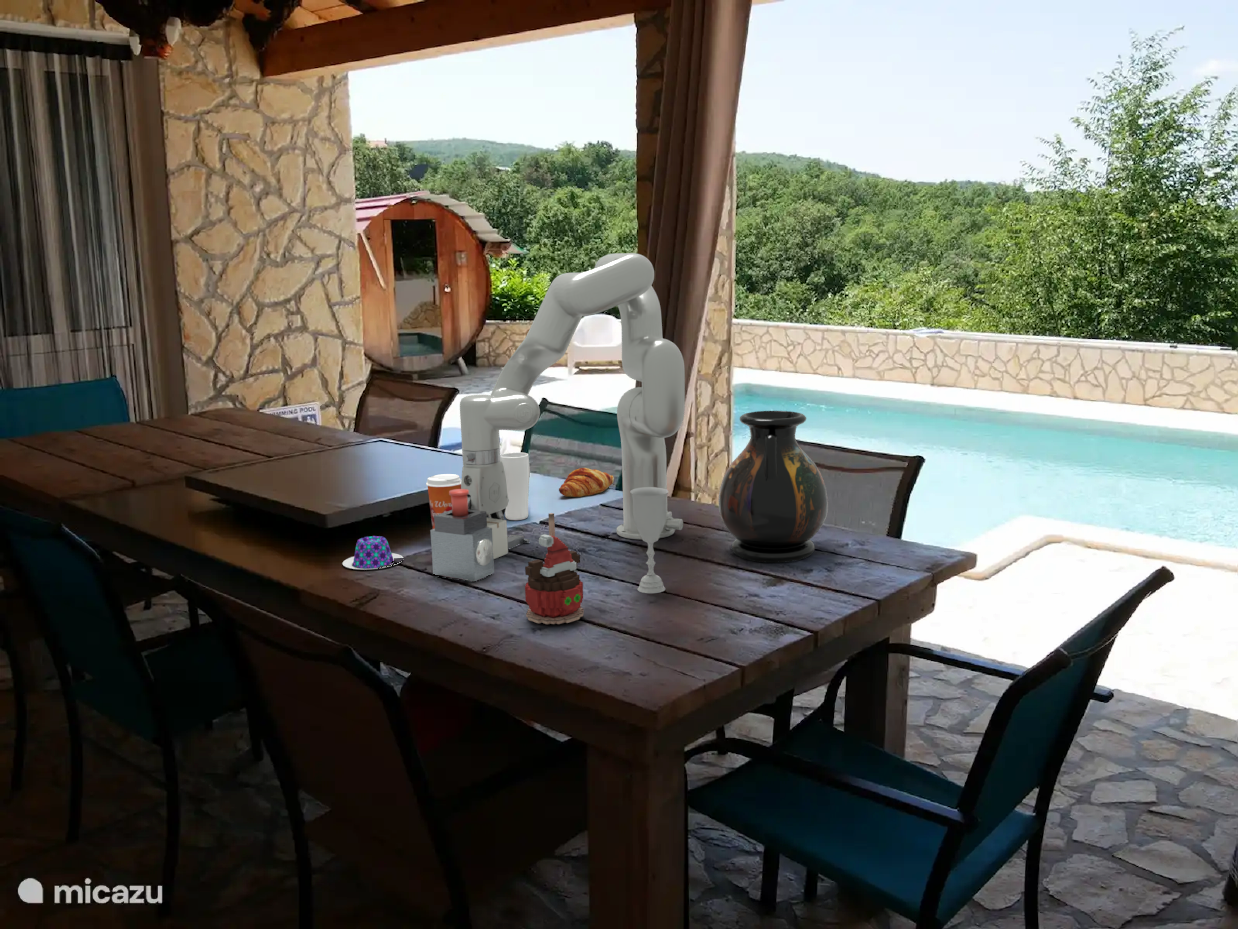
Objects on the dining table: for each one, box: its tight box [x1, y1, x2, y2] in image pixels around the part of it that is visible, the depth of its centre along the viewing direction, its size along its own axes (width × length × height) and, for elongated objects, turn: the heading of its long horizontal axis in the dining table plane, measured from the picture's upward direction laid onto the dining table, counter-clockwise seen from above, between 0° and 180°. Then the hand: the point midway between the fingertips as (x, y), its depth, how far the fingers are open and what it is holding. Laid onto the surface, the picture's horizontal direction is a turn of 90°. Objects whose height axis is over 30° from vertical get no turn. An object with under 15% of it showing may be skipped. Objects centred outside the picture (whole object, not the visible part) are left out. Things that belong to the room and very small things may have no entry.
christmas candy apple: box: [524, 512, 585, 625], centre depth 178 cm, size 11×9×18 cm
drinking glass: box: [500, 451, 530, 521], centre depth 249 cm, size 7×7×15 cm
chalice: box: [630, 487, 670, 594], centre depth 192 cm, size 7×7×18 cm
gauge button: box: [449, 489, 469, 517], centre depth 204 cm, size 4×4×5 cm
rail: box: [507, 534, 531, 549], centre depth 222 cm, size 5×16×2 cm, turn 150°
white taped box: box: [487, 517, 509, 560], centre depth 218 cm, size 6×6×7 cm
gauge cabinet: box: [429, 509, 495, 582], centre depth 205 cm, size 10×7×12 cm
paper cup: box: [425, 473, 461, 529], centre depth 231 cm, size 8×8×14 cm
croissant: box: [558, 467, 615, 498], centre depth 276 cm, size 21×10×8 cm, turn 144°
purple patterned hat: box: [342, 535, 404, 571], centre depth 216 cm, size 12×12×5 cm
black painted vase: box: [718, 410, 829, 564], centre depth 212 cm, size 22×22×28 cm
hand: (485, 543), depth 219 cm, fingers closed on white taped box, 6 cm apart
